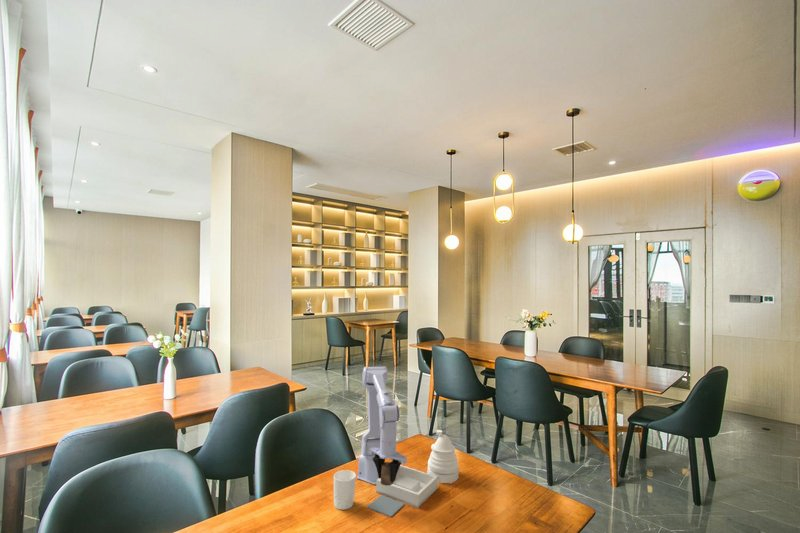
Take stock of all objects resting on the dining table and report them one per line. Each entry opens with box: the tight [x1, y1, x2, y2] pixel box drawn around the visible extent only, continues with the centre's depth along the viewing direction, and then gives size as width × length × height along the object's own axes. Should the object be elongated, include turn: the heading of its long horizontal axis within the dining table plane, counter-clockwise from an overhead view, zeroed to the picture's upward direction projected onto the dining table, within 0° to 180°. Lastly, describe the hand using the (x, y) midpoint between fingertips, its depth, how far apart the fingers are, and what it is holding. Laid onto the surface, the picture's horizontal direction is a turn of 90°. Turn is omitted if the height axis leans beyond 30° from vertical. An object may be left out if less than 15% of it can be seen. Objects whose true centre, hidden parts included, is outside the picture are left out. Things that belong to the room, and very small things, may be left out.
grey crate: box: [375, 464, 439, 509], centre depth 144 cm, size 18×16×4 cm
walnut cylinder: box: [381, 461, 393, 486], centre depth 134 cm, size 4×4×6 cm
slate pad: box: [366, 494, 406, 518], centre depth 133 cm, size 10×9×1 cm
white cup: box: [333, 469, 357, 511], centre depth 133 cm, size 8×8×10 cm
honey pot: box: [426, 429, 460, 484], centre depth 157 cm, size 13×13×18 cm
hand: (386, 479), depth 133 cm, fingers closed on walnut cylinder, 4 cm apart
